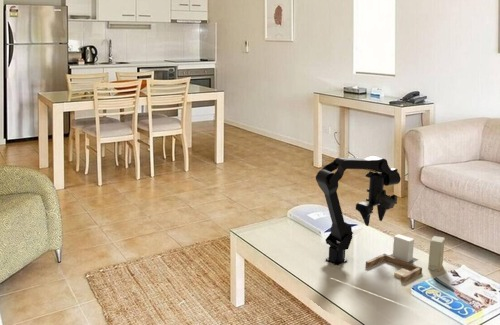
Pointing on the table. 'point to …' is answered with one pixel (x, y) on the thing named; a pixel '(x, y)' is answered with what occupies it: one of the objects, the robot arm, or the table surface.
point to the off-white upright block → (403, 248)
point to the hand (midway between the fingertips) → (373, 223)
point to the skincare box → (436, 253)
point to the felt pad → (409, 261)
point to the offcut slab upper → (401, 272)
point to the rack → (414, 269)
